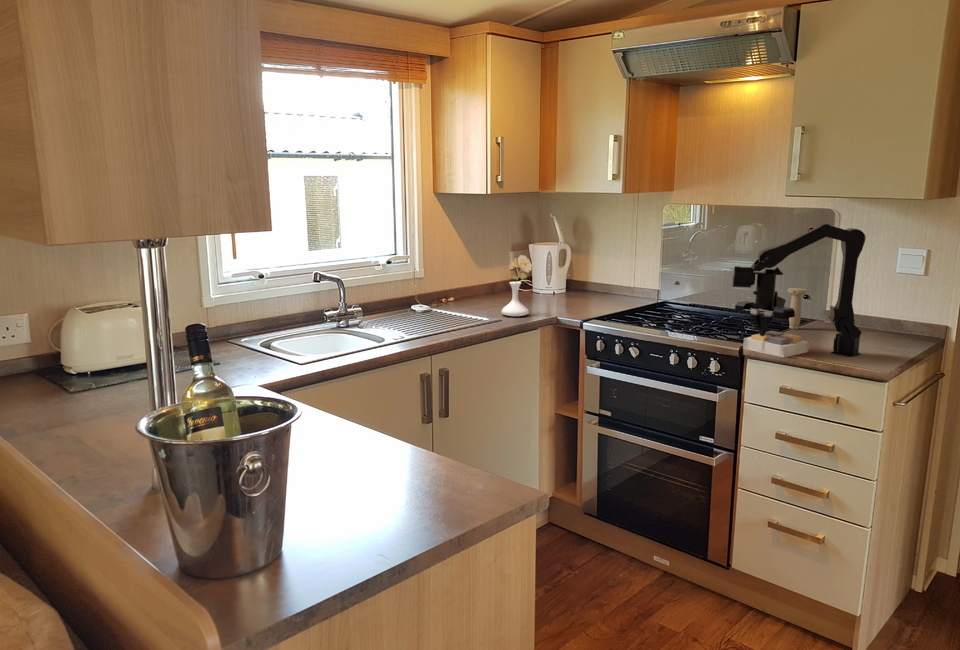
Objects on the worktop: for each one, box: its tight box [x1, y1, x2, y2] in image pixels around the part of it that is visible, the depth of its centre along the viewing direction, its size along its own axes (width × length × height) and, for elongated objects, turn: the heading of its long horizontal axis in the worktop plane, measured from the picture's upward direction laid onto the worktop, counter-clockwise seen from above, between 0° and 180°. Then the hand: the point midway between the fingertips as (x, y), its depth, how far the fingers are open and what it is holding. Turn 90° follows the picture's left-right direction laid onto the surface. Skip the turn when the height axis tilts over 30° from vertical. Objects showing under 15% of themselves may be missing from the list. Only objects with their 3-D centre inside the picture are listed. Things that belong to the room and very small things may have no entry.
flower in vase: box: [501, 254, 533, 317], centre depth 300 cm, size 13×11×25 cm
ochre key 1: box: [750, 333, 773, 342], centre depth 240 cm, size 5×5×3 cm
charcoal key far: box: [765, 330, 785, 337], centre depth 243 cm, size 5×5×3 cm
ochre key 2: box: [780, 333, 802, 343], centre depth 238 cm, size 5×5×3 cm
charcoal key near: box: [768, 336, 790, 345], centre depth 234 cm, size 5×5×3 cm
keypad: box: [742, 336, 810, 358], centre depth 239 cm, size 15×13×4 cm
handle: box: [787, 287, 807, 330], centre depth 273 cm, size 5×6×15 cm
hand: (762, 335), depth 239 cm, fingers closed, pressing on ochre key 1
